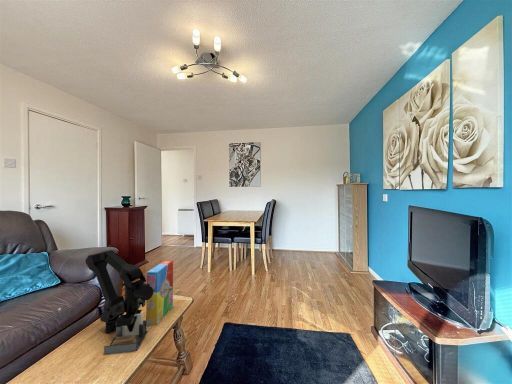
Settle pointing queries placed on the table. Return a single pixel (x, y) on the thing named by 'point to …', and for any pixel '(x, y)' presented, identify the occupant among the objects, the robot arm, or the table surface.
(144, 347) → the table surface
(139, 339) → the rack
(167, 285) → the game box
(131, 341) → the offcut upper
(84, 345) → the table surface
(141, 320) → the panel
